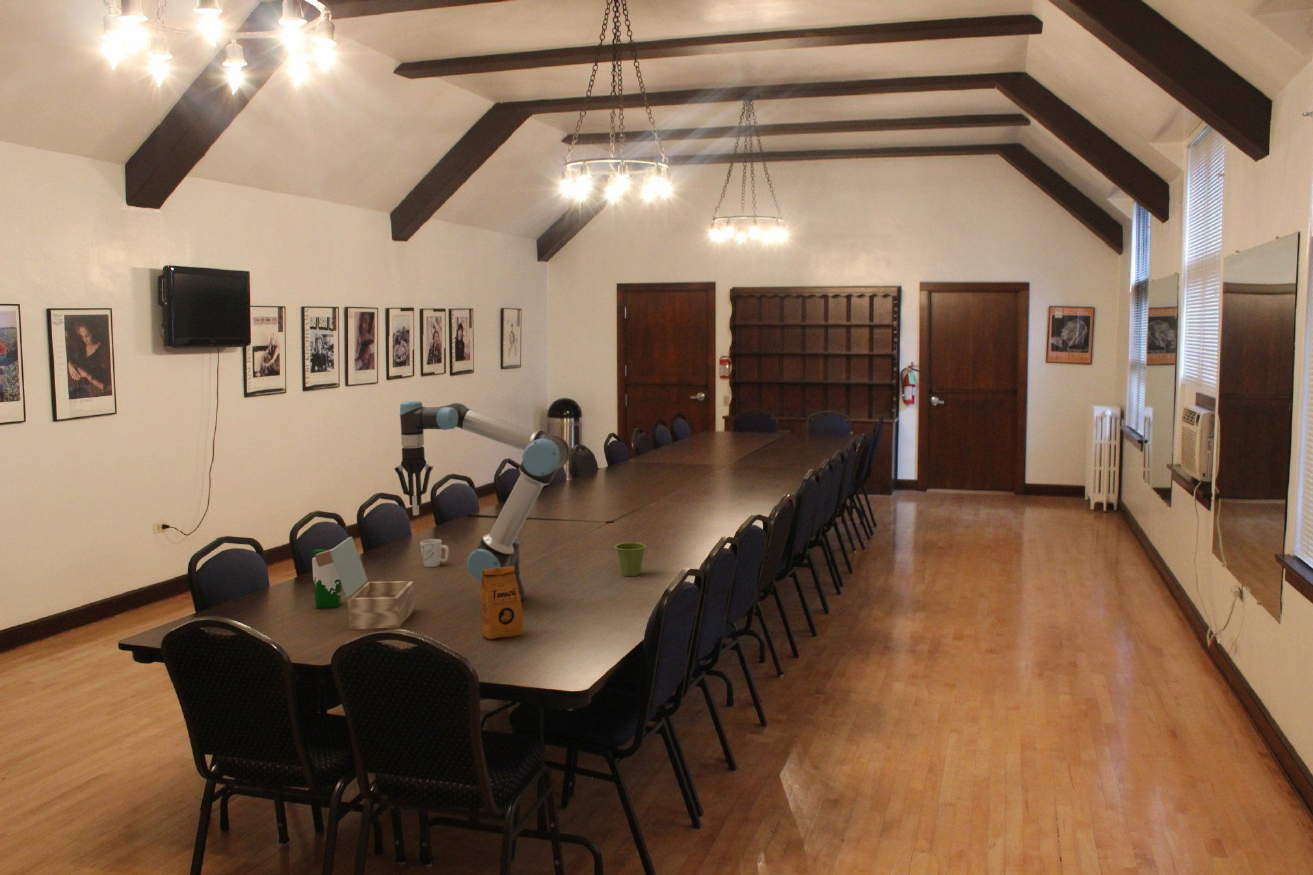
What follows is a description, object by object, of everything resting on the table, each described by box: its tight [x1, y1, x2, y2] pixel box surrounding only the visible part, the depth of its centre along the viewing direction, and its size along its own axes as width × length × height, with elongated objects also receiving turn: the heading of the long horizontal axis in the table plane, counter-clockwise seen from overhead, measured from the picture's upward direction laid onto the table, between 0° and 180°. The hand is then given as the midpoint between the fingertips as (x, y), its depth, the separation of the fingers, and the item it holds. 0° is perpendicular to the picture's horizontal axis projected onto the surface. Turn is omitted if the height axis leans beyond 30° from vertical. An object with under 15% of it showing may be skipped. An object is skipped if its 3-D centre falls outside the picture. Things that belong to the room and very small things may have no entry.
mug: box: [419, 538, 450, 568], centre depth 424 cm, size 11×8×10 cm
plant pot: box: [614, 542, 647, 577], centre depth 402 cm, size 12×12×11 cm
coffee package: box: [479, 566, 524, 640], centre depth 327 cm, size 10×12×22 cm
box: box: [347, 580, 416, 630], centre depth 348 cm, size 16×22×10 cm
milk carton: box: [311, 548, 342, 610], centre depth 366 cm, size 9×9×20 cm
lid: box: [315, 536, 369, 598], centre depth 347 cm, size 16×21×10 cm
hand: (416, 514), depth 360 cm, fingers closed
